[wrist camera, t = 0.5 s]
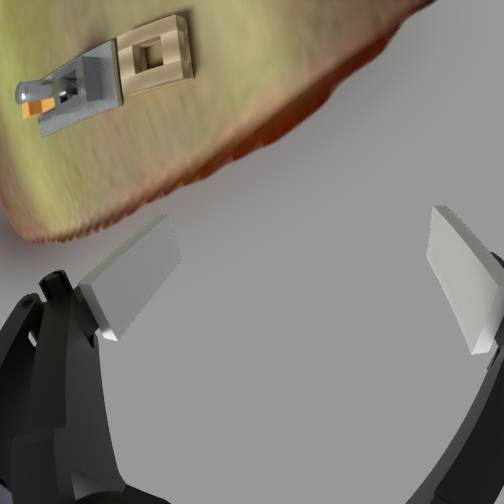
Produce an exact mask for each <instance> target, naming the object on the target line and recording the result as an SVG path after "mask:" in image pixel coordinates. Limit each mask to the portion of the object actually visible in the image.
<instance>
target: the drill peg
mask: <svg viewBox="0 0 504 504" xmlns="http://www.w3.org/2000/svg"><path fill="white" fill-rule="evenodd" d="M72 95H78V88H77V79H76V77H69V78H55V79H44V80H35V81H27V82H21V83H19V84H18V85H17V88H16V91H15V100H16V102H17V103H18V104H22V103H27V102H32V101H38V100H44V99H50V98H57V97H64V96H72Z"/></svg>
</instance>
